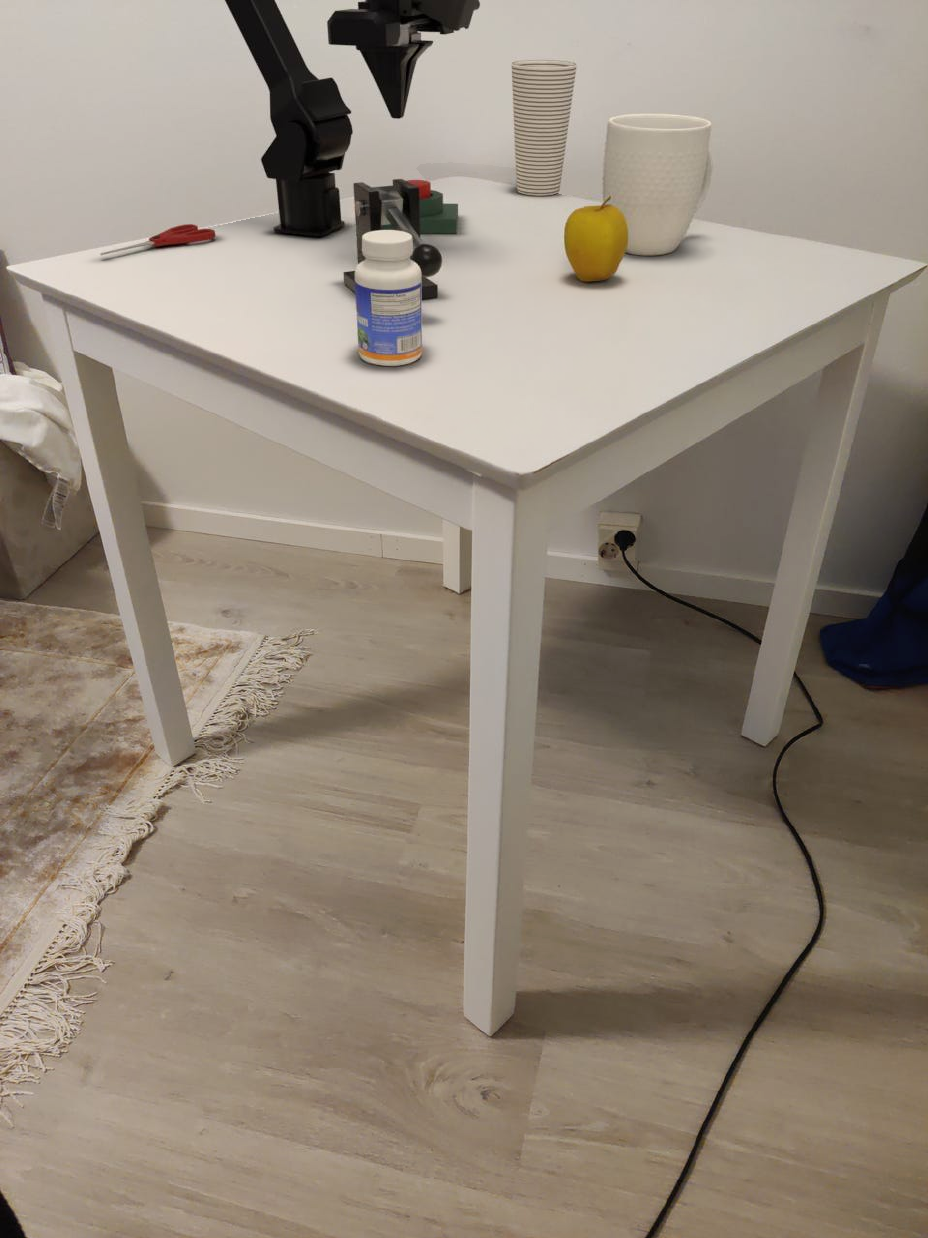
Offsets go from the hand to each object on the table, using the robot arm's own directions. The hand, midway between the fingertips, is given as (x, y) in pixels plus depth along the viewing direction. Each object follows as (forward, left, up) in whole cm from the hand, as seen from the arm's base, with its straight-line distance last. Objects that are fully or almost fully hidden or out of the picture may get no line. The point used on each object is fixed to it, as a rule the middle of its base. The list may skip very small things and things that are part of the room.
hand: (397, 117), depth 102 cm
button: (-2, +9, -10) cm, 13 cm away
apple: (+24, -5, -13) cm, 28 cm away
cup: (+6, +33, -13) cm, 36 cm away
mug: (+27, +10, -13) cm, 32 cm away
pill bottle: (+14, -33, -13) cm, 38 cm away
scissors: (-25, -12, -13) cm, 31 cm away
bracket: (+6, -17, -13) cm, 22 cm away
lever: (+9, -20, -8) cm, 23 cm away
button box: (-2, +9, -13) cm, 16 cm away
